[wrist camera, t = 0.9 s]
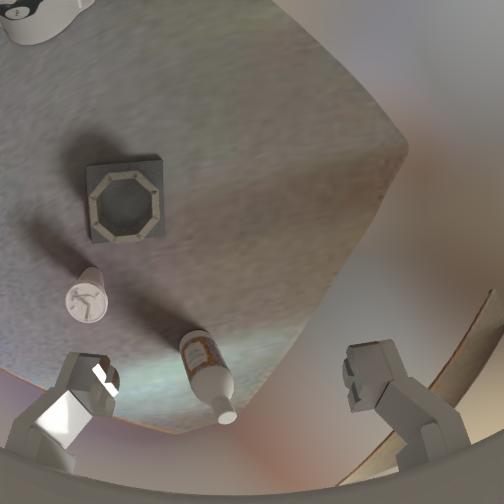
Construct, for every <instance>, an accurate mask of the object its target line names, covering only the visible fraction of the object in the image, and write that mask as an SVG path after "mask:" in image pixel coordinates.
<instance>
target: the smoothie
mask: <svg viewBox="0 0 504 504" xmlns="http://www.w3.org/2000/svg"><path fill="white" fill-rule="evenodd" d="M65 304H66V308H67V310H68V312H69V313H70V314H71V316H72V317H74V318H75V319H77V320H78V321H81V322H85V323H92V322H96V321H98V320H100V319H101V318H102V317H103V316H104V314H105V312H106V310H107V305H108V299H107V295H106V293H105V290H104V280H103V274H102V272H101V271H100V270H99V269H98V268H96V267H88V268H87V269H85V270H84V272H83V273H82V274H81V276H80V277H79V278H78V279H77V281H76V282H74V283H73V284H71V286H70V287H69V288H68V290H67V292H66V297H65Z"/></svg>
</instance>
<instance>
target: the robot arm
mask: <svg viewBox="0 0 504 504" xmlns="http://www.w3.org/2000/svg"><path fill="white" fill-rule="evenodd" d="M94 2H95V0H0V28H2V29H5V31H6V32H7V34H8V36H9V38H10V39H11V40H12V41H14V42H15V43H18V44H21V45H33V44H38V43H41V42H44V41H46V40H48V39H50V38H52V37H54V36H55V35H57V34H58V33H60V32H61V31H62V30H64V29H65V28H66V27H67V26H68V25H69V24H70V23H71V22H72V21H73V19H74V18H75V17H76V16H77V15H78V14H79V13H80V12H82V11H83V10H85V9H86V8H88V7H90V6H91V5H92V4H93V3H94ZM346 353H347V358H346V359H345V360H344V363H343V380H344V384H345V386H346V387H347V388H348V389H350V391H349V394H348V401H349V405H350V409H351V412H352V413H353V412H359V411H365V410H371V409H375V411H376V412H377V413H378V414H379V415H380V416H381V417H382V418H383V419H384V420H385V421H386V422H387V423H388V424H389V425H390V426H391V427H392V428H393V429H394V430H395V431H396V432H397V433H398V435H399V436H400V437H401V438H402V439H403V440H404V441H405V442H406V444H405V445H404V446H403V447H402V448H401V449H400V450H399V451H398V453H397V454H396V460H397V464H398V468H399V472H396V473H393V474H389V475H385V476H381V477H378V478H373V479H369V480H365V481H361V482H356V483H351V484H346V485H341V486H335V487H330V488H323V489H317V490H310V491H301V492H292V493H281V494H267V495H238V496H237V495H235V496H232V495H231V496H229V495H226V496H225V495H197V494H183V493H172V492H162V491H154V490H147V489H141V488H135V487H129V486H123V485H118V484H113V483H109V482H104V481H99V480H95V479H91V478H87V477H84V476H80V475H76V474H73V471H74V465H75V461H76V458H75V457H74V456H73V455H72V454H71V453H69V452H68V451H67V450H65V449H66V448H67V447H68V446H69V444H70V443H71V442H72V441H73V440H74V438H75V437H76V436H77V435H78V433H79V432H80V431H81V430H82V429H83V428H84V426H85V425H86V424H87V423H88V422H89V420H90V419H91V418H92V415H93V416H101V417H109V418H112V415H113V411H114V407H115V400H114V398H113V397H114V396H115V395H116V394H117V393H118V390H119V386H120V378H119V374H118V372H117V370H116V368H114V367H113V366H111V365H110V362H111V361H110V359H109V358H108V356H107V355H99V354H88V353H78V352H70V353H69V354H68V355H67V357H66V359H65V361H64V364H63V366H62V369H61V371H60V374H59V376H58V379H57V382H56V384H55V387H51V388H50V389H48V390H47V391H46V392H45V393H44V394H43V395H42V396H41V397H40V398H38V399H37V400H36V401H35V402H34V403H33V404H32V405H30V406H29V407H28V408H27V409H26V410H25V411H24V412H23V413H22V414H21V415H19V416H18V417H17V418H16V419H15V420H14V422H13V424H12V427H11V430H10V433H9V436H8V440H7V443H6V446H5V449H4V448H2V447H0V504H504V429H503V430H501V431H499V432H497V433H495V434H493V435H491V436H489V437H487V438H485V439H483V440H481V441H479V442H477V443H474V444H472V445H471V443H470V440H469V437H468V434H467V432H466V429H465V426H464V424H463V421H462V418H461V416H460V413H459V412H457V411H456V410H455V409H454V408H452V407H451V406H450V405H448V404H447V403H446V402H445V401H443V400H442V399H441V398H439V397H438V396H437V395H435V394H434V393H433V392H431V391H430V390H429V389H427V388H426V387H425V386H424V385H422V384H421V383H420V382H418V381H417V380H416V379H414V378H413V377H409V378H408V376H407V373H406V370H405V368H404V365H403V363H402V361H401V358H400V355H399V353H398V351H397V349H396V346H395V344H394V342H393V340H391V339H388V340H383V341H375V342H369V343H362V344H356V345H350V346H348V348H347V351H346Z"/></svg>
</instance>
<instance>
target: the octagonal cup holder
mask: <svg viewBox="0 0 504 504" xmlns="http://www.w3.org/2000/svg"><path fill="white" fill-rule="evenodd" d="M86 180H87V195H88V208H89V219H90V228H91V237H92V243H102V242H111V243H113V244H118V243H128V242H138V241H142V240H143V239H144V238H151V237H161V236H165V218H164V195H163V160H150V161H136V162H124V163H113V164H103V165H94V166H86Z"/></svg>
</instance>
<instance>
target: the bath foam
mask: <svg viewBox="0 0 504 504" xmlns="http://www.w3.org/2000/svg"><path fill="white" fill-rule="evenodd" d="M179 349H180V353H181V357H182V360H183V363H184V366H185V370H186V373H187V376H188V379H189V382H190V385H191V388H192V390H193V392H194V394H195V395H196V397H197V398H198V399H199V400H200V401H202V402H203V403H205V404H207V405H209V406H211V407H212V408H213V411H214V413H215V416H216V418H217V421H218V422H219V423H221V424H229V423H231V422H233V421H234V420H235V419H236V417H237V415H236V412H235V410H234V408H233V406H232V404H231V402H230V399H231V396H232V393H233V389H234V383H233V378H232V375H231V373H230V371H229V369H228V367H227V365H226V363H225V361H224V359H223V357H222V355H221V353H220V351H219V349H218V347H217V345H216V343H215V341H214V339H213V337H212V336H211V335H210V334H209V333H207V332H205V331H201V330H196V331H192V332H189V333H187V334H186V335H185V336H184V337H183V338H182V339H181V341H180V345H179Z"/></svg>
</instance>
